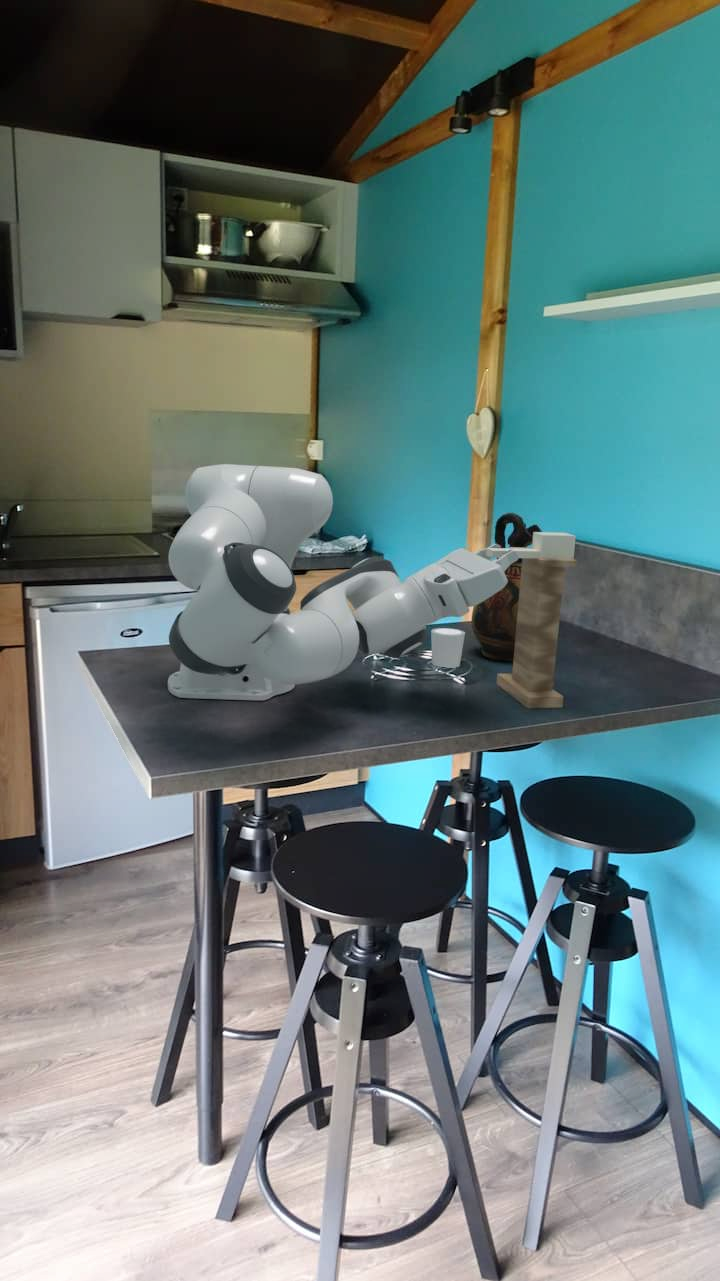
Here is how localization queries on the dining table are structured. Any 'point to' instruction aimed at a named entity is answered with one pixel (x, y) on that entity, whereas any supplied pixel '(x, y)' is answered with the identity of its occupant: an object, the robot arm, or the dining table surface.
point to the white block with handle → (543, 547)
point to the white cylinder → (447, 647)
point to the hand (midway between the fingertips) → (507, 550)
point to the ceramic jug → (503, 596)
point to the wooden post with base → (537, 633)
